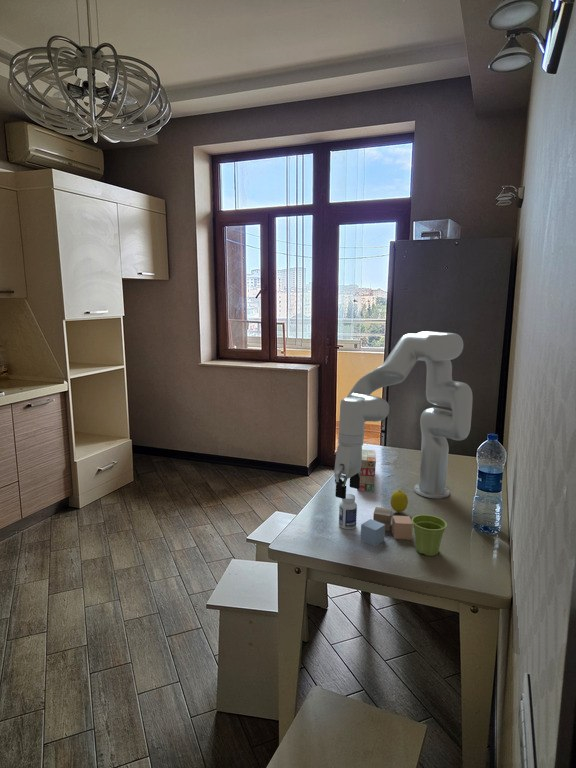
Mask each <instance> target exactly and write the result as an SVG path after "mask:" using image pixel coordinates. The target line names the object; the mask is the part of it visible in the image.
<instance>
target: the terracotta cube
mask: <svg viewBox="0 0 576 768" xmlns="http://www.w3.org/2000/svg"><path fill="white" fill-rule="evenodd" d="M413 528H414V526H413V523H412V518H411V517H410V516H409V515H392V517H391V532H392V535H393V539H395V540H413V538H412V537H413Z"/></svg>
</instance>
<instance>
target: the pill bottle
mask: <svg viewBox="0 0 576 768" xmlns="http://www.w3.org/2000/svg"><path fill="white" fill-rule="evenodd" d="M357 504H358V503H356V496H355V495H354V494H352V493H346V498H345V499H342V498H341V501H340V502H339V505H338V506H339V509H338V510H339V512H338V525H339V527H340V528H342V529H344V530H352V529H353V530H354V529H355V528H356V527H357V513H358V512H357V511H358V505H357Z"/></svg>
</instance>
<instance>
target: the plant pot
mask: <svg viewBox="0 0 576 768" xmlns="http://www.w3.org/2000/svg"><path fill="white" fill-rule="evenodd" d="M411 521H412V523H413V528H414V538H415V539H414V540H415V550H416V551H417V552H418V553H419V554H424V555H425V556H428V557H429V556H430V557H431V556H436V555H438V553H439V551H440V547H441V543H442V538H443V534H444V533H445V530H446V528H447V526H448V523H447V522H446V521H445V520H444V519H442V518H441V517H438V516H437V515H436V516H435V515H430V514H418V515H417V514H416V515H415V516H413V517H412V518H411Z"/></svg>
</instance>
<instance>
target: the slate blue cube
mask: <svg viewBox="0 0 576 768" xmlns="http://www.w3.org/2000/svg"><path fill="white" fill-rule="evenodd" d="M385 532H386V530H385V524H383V523H380V522H377V521H375V520H373V519H372V518H370V519H368V520H366V521H365V522H363V523H362V524H360V541H361V542H363V543H366V544H368V545H370V546H373V547H376V546H377V545H379V544H381V543H382V542H384V541H385V534H386V533H385Z"/></svg>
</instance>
